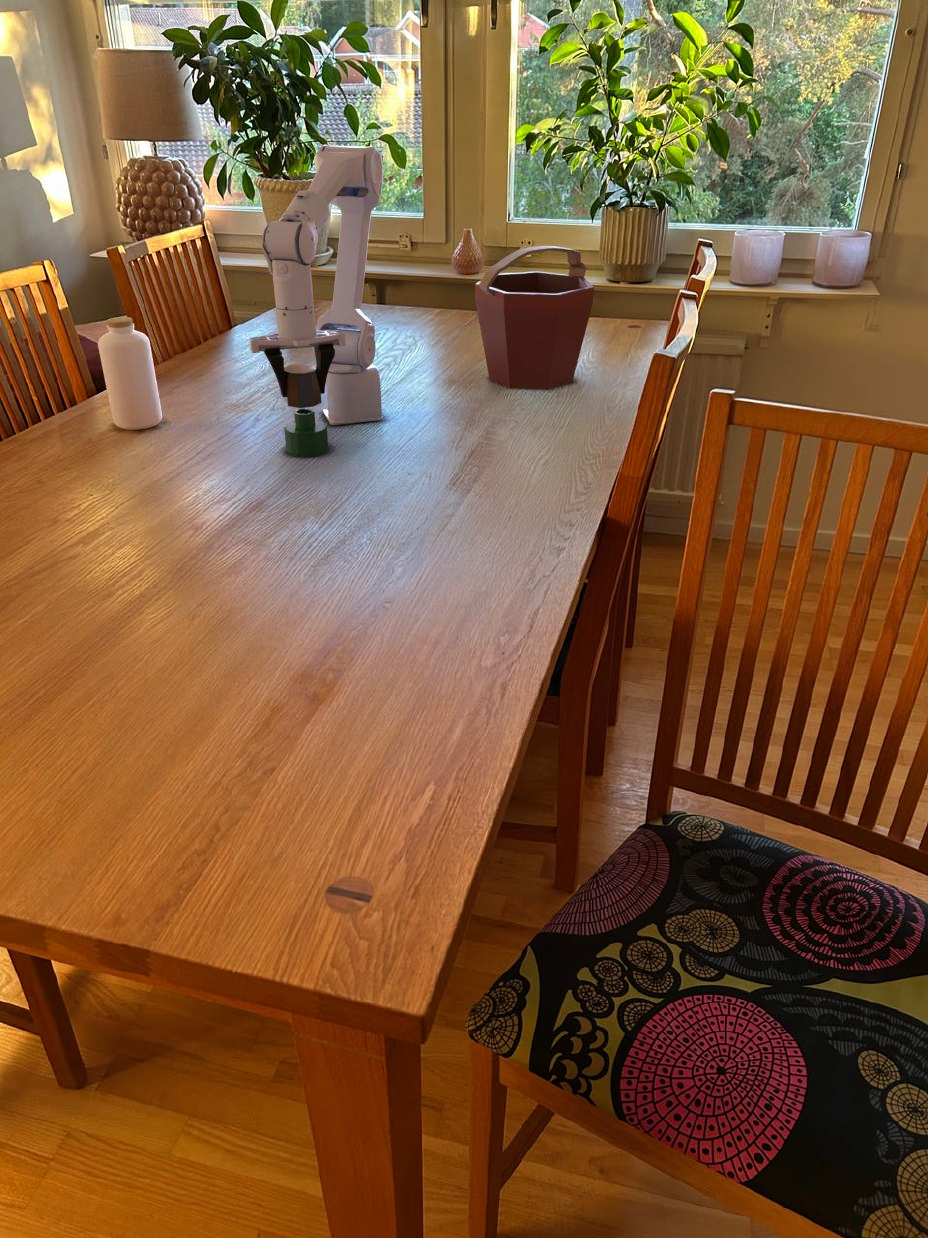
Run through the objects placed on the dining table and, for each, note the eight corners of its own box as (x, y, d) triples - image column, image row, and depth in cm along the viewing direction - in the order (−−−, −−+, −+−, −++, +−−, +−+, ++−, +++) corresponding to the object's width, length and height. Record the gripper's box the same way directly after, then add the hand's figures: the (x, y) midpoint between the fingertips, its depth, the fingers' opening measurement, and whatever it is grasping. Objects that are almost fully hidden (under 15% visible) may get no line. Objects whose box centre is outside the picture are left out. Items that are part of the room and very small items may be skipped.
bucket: (566, 358, 200) (574, 235, 187) (612, 388, 182) (623, 253, 169) (459, 368, 194) (459, 241, 181) (495, 400, 176) (498, 261, 163)
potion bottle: (172, 418, 166) (155, 315, 156) (144, 434, 159) (124, 327, 150) (133, 414, 168) (114, 312, 159) (104, 428, 161) (82, 323, 152)
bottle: (323, 440, 157) (320, 403, 153) (332, 454, 151) (329, 415, 148) (283, 445, 155) (279, 407, 151) (290, 459, 149) (286, 420, 146)
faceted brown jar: (317, 395, 152) (314, 362, 149) (323, 405, 147) (320, 371, 144) (284, 398, 150) (280, 365, 147) (289, 409, 146) (286, 374, 143)
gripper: (250, 315, 136) (260, 405, 143) (347, 308, 140) (352, 396, 147) (244, 305, 141) (254, 392, 148) (337, 298, 145) (343, 384, 152)
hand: (302, 393), depth 148 cm, fingers closed on faceted brown jar, 5 cm apart
